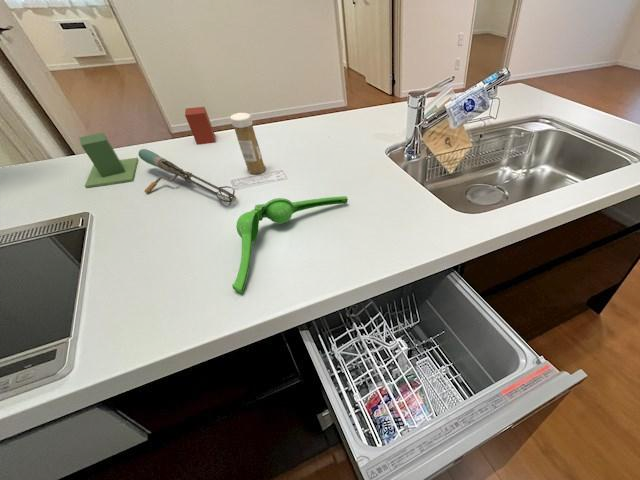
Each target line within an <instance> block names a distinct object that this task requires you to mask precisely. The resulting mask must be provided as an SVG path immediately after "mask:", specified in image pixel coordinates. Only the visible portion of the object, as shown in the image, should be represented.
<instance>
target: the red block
mask: <svg viewBox="0 0 640 480" xmlns="http://www.w3.org/2000/svg"><path fill="white" fill-rule="evenodd" d="M184 117H185V118H186V121H187V124H188V126H189V128H190V131H191V133H192V136H193V139H194V140H195V143H196V145H203V144H204V145H205V144H210V143H216V133H215V132H214V128H213V126H212V123H211V121H210V117H209V114H208V112H207V109H206V107H205V106H197V107H188V108H185V110H184Z"/></svg>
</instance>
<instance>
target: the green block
mask: <svg viewBox="0 0 640 480" xmlns="http://www.w3.org/2000/svg"><path fill="white" fill-rule="evenodd" d="M78 138H79V143H80V146H81V147H82V149H83V151H84V152H85V153H86V155H87V157H88V158H89V160H90V161H91V162H92V165H95V167H96V168H97V170H98V171H99V173H100V174H101V176H102V177H107V176H111V175H115V174H119V173H123V172H125V170H124V167H123V165H122V163H121V161H120V160H121V159H120V158H119V156H118V154H117V153H116V151H115V149H114V148H113V146H112V144H111V143H110V141H109V140H108V138H107V136H106V134H105V133H104V132H99V133H94V134H89V135H84V136H79V137H78Z"/></svg>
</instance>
